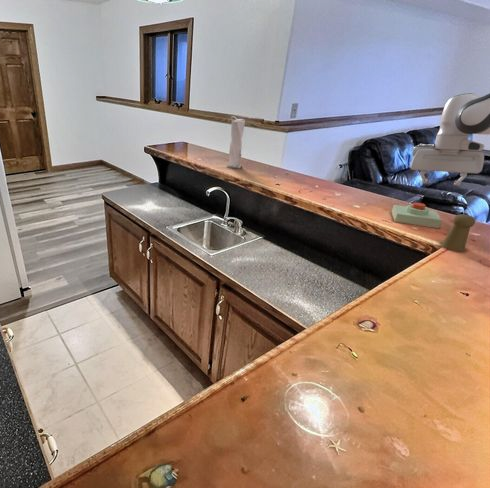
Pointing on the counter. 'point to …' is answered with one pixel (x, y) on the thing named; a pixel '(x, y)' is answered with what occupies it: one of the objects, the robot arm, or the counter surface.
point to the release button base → (416, 216)
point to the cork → (459, 233)
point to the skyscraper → (236, 143)
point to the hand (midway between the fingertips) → (440, 184)
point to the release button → (418, 206)
